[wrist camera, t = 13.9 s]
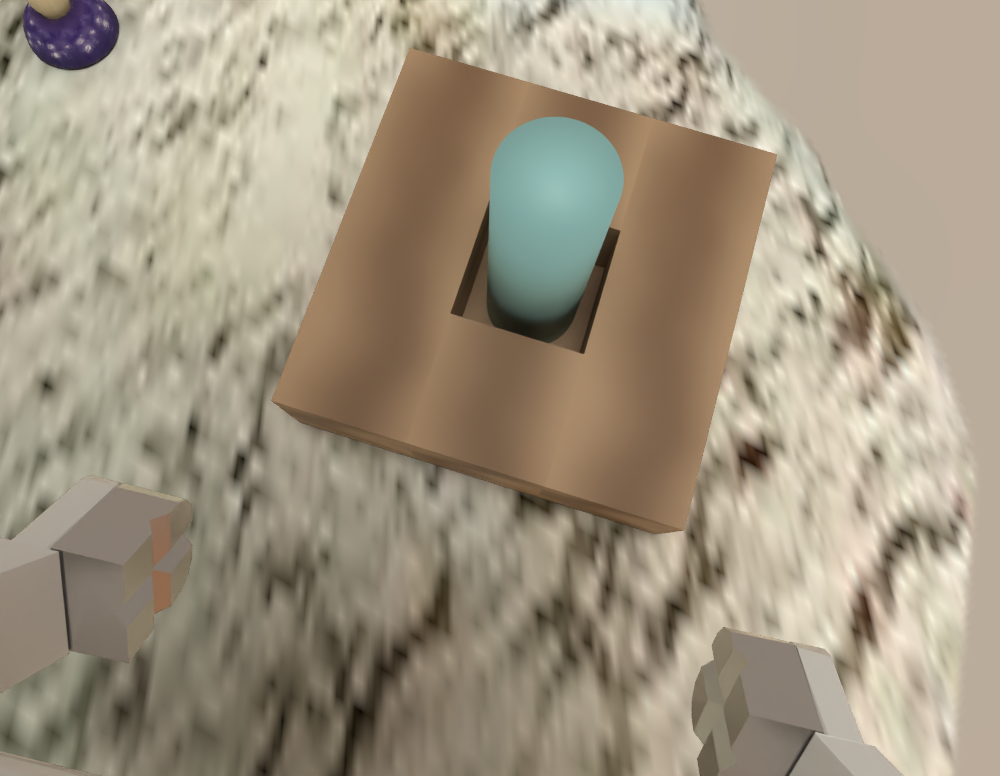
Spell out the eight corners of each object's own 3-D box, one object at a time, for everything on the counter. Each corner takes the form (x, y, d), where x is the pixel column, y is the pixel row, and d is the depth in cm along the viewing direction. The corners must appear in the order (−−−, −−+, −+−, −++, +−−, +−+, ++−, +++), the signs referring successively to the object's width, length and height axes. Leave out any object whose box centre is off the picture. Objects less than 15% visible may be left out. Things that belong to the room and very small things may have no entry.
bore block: (300, 422, 32) (271, 400, 27) (418, 111, 35) (409, 48, 31) (655, 534, 31) (683, 530, 27) (739, 205, 35) (777, 154, 30)
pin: (475, 331, 32) (473, 215, 21) (501, 251, 33) (512, 101, 22) (562, 357, 32) (604, 253, 21) (586, 275, 33) (638, 137, 22)
